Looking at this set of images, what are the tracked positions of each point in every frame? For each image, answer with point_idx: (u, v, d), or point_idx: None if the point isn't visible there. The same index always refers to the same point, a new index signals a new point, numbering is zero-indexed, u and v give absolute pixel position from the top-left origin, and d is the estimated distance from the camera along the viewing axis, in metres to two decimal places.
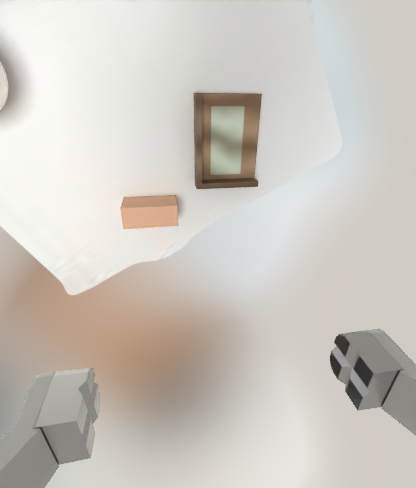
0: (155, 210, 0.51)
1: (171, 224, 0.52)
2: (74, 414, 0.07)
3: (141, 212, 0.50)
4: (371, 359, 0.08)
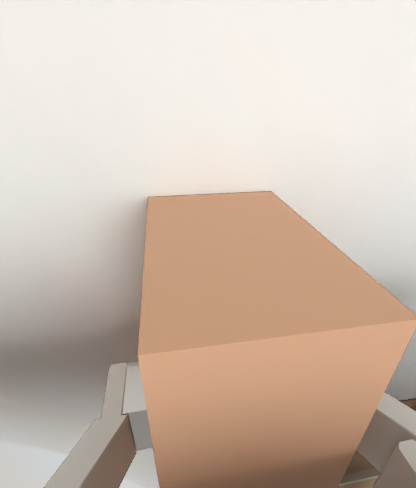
0: None
1: None
2: None
3: (310, 456, 0.06)
4: None
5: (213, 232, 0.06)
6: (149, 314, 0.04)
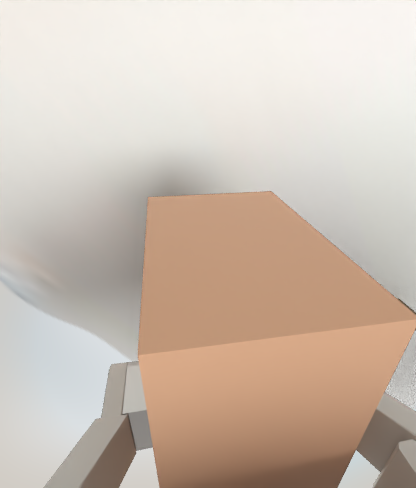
0: None
1: None
2: None
3: (310, 455, 0.06)
4: None
5: (213, 232, 0.06)
6: (149, 314, 0.04)
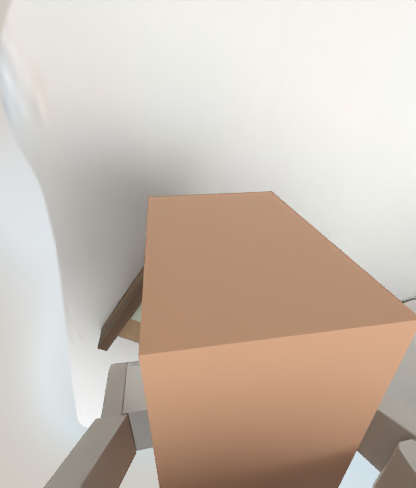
0: None
1: None
2: None
3: (310, 456, 0.06)
4: None
5: (214, 232, 0.06)
6: (150, 314, 0.04)
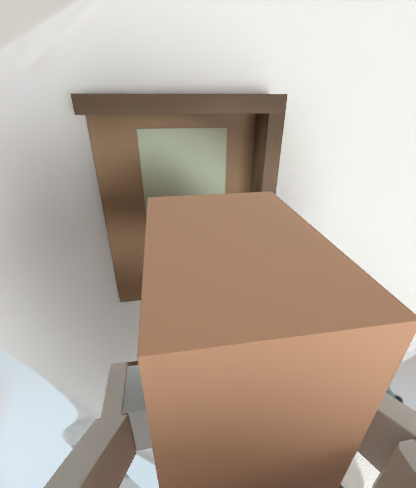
0: None
1: None
2: None
3: (311, 457, 0.06)
4: None
5: (213, 233, 0.06)
6: (149, 315, 0.04)
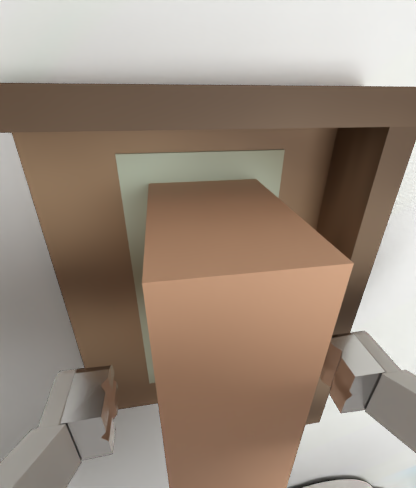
0: (276, 439, 0.08)
1: None
2: (98, 410, 0.07)
3: (280, 385, 0.07)
4: (353, 362, 0.08)
5: (203, 209, 0.08)
6: (150, 260, 0.05)
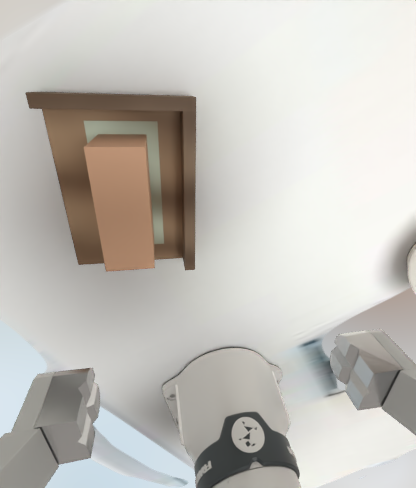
0: (141, 226, 0.22)
1: (108, 258, 0.23)
2: (74, 414, 0.07)
3: (134, 195, 0.21)
4: (371, 359, 0.08)
5: (113, 139, 0.22)
6: (87, 145, 0.19)
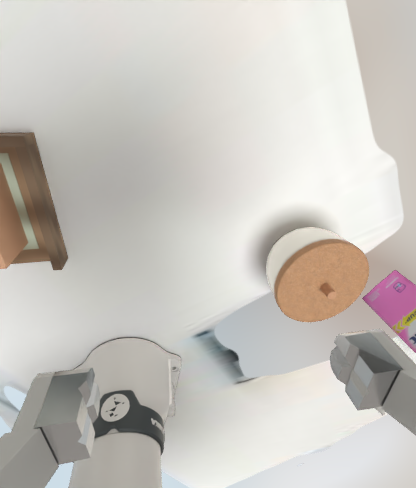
0: None
1: None
2: (74, 414, 0.07)
3: None
4: (371, 359, 0.08)
5: None
6: None
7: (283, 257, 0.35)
